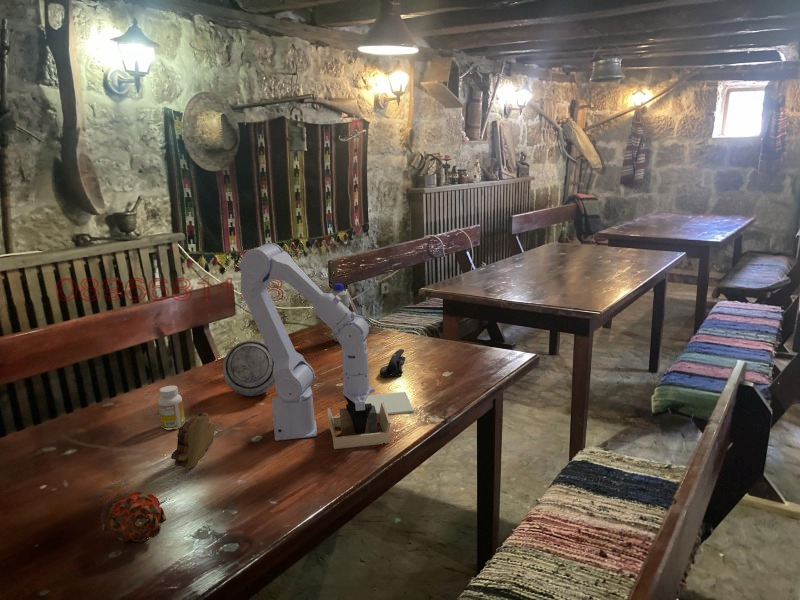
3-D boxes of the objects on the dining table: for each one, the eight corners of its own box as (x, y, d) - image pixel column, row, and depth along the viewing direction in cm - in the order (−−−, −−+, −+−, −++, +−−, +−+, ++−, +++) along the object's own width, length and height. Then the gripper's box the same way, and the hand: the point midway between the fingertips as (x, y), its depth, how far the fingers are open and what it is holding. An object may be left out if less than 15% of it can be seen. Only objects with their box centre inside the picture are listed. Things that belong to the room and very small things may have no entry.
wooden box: (331, 449, 132) (330, 428, 131) (328, 427, 143) (327, 407, 142) (391, 442, 134) (390, 422, 133) (384, 421, 145) (383, 402, 144)
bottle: (334, 337, 212) (331, 281, 207) (353, 337, 211) (350, 281, 206) (329, 343, 205) (326, 285, 200) (349, 343, 204) (346, 285, 199)
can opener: (401, 381, 170) (400, 362, 169) (377, 379, 172) (376, 361, 171) (414, 359, 187) (413, 342, 186) (392, 358, 189) (391, 341, 187)
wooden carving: (198, 442, 137) (193, 402, 135) (218, 442, 137) (213, 401, 135) (169, 481, 121) (163, 436, 119) (192, 481, 121) (186, 435, 119)
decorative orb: (223, 407, 156) (217, 352, 152) (227, 386, 170) (221, 335, 166) (282, 400, 159) (277, 346, 155) (281, 381, 173) (276, 330, 169)
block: (342, 440, 136) (340, 416, 135) (341, 432, 140) (339, 408, 139) (377, 436, 137) (376, 412, 136) (375, 429, 141) (374, 405, 140)
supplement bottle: (177, 419, 150) (172, 382, 148) (189, 424, 147) (184, 387, 144) (157, 427, 146) (151, 389, 144) (169, 433, 143) (164, 394, 140)
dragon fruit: (158, 559, 100) (119, 544, 108) (187, 511, 105) (148, 500, 112) (120, 537, 95) (82, 523, 102) (153, 488, 100) (114, 477, 107)
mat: (365, 417, 148) (365, 415, 148) (360, 397, 159) (360, 396, 159) (413, 412, 150) (413, 410, 149) (405, 393, 161) (405, 391, 161)
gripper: (377, 381, 129) (380, 439, 132) (369, 358, 142) (372, 412, 146) (344, 384, 127) (348, 443, 131) (339, 361, 141) (342, 415, 145)
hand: (358, 427), depth 138 cm, fingers open, 5 cm apart
